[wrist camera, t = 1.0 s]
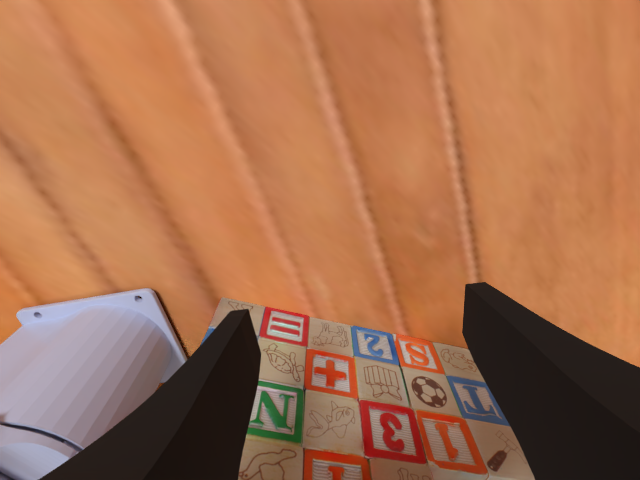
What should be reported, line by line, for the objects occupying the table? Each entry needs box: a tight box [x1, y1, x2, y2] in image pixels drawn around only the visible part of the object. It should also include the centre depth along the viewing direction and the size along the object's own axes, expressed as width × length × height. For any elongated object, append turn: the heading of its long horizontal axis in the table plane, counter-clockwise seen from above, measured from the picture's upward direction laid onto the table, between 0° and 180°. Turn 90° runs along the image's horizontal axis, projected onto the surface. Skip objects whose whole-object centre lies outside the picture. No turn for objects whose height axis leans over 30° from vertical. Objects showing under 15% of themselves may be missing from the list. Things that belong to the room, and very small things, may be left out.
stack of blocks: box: [200, 298, 535, 480], centre depth 20 cm, size 21×6×12 cm, turn 75°
